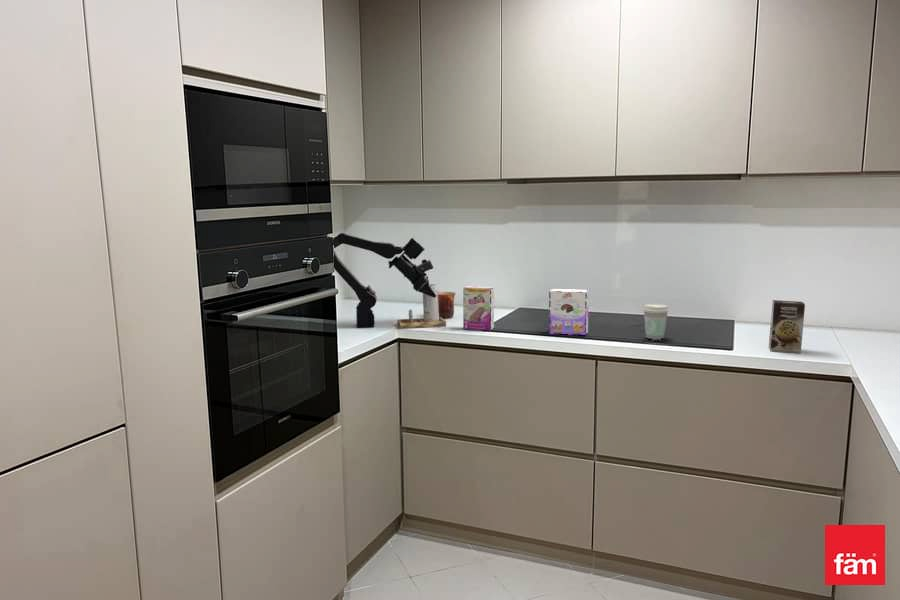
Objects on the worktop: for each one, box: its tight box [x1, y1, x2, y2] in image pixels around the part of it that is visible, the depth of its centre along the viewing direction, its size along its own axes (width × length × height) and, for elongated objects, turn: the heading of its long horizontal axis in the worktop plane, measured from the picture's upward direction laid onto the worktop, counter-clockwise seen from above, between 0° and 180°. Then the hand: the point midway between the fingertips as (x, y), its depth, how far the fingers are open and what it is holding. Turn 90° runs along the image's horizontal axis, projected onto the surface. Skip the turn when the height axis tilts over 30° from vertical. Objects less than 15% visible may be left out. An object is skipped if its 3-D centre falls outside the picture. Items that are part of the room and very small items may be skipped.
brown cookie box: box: [768, 299, 806, 354], centre depth 215 cm, size 9×6×16 cm
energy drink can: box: [422, 283, 439, 322], centre depth 261 cm, size 6×6×15 cm
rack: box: [396, 317, 447, 330], centre depth 262 cm, size 18×9×2 cm, turn 102°
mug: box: [438, 291, 456, 320], centre depth 276 cm, size 12×9×10 cm
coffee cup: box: [642, 303, 669, 339], centre depth 233 cm, size 8×8×12 cm
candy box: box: [548, 288, 590, 336], centre depth 243 cm, size 14×6×16 cm, turn 70°
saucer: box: [408, 308, 414, 323], centre depth 260 cm, size 1×6×6 cm, turn 12°
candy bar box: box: [462, 285, 495, 332], centre depth 252 cm, size 11×5×16 cm, turn 72°
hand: (435, 295), depth 261 cm, fingers open, 7 cm apart
